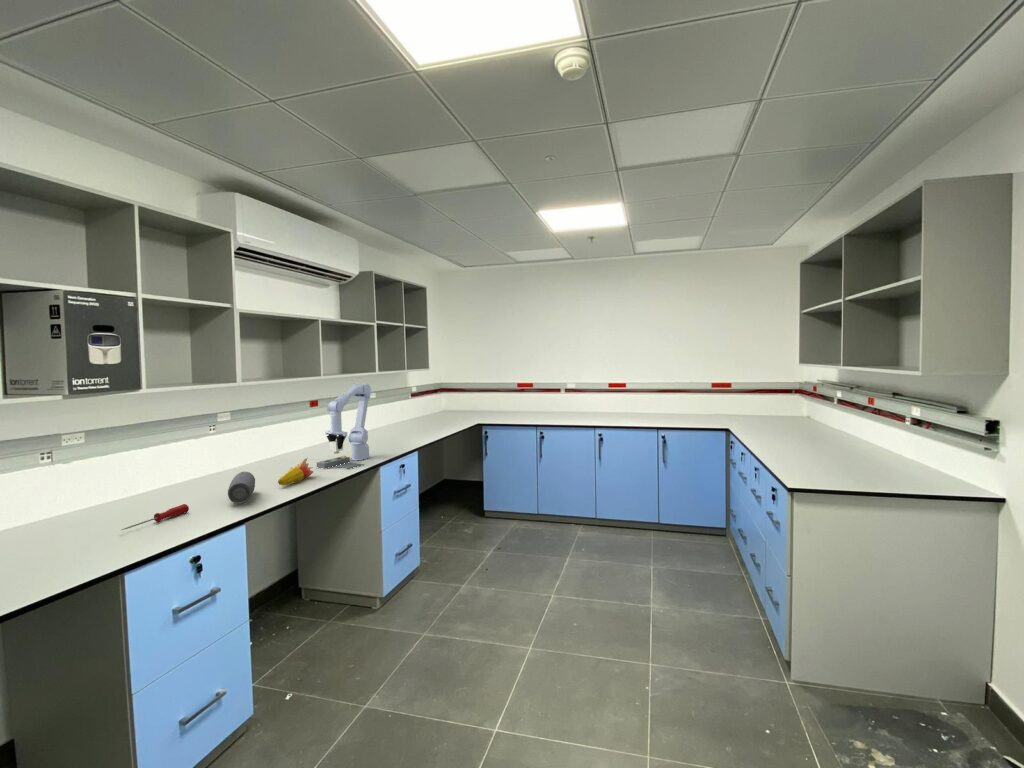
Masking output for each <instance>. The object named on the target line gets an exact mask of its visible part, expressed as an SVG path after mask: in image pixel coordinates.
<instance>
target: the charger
mask: <svg viewBox="0 0 1024 768" xmlns="http://www.w3.org/2000/svg"><path fill="white" fill-rule="evenodd" d="M329 451H330V452H333V454H335V455H337V454H340V452H341V451H342V452H343V451H344V445H343V446H342V449H338V444H337V440H336V441H332V442H329Z"/></svg>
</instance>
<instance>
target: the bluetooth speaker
mask: <svg viewBox="0 0 1024 768" xmlns="http://www.w3.org/2000/svg"><path fill="white" fill-rule="evenodd" d="M255 487H256V478H255V475H254V474H252V473H251V472H249V471H241V472H238V473H237V474H236V475H235V476H234V477H233V478H232V479H231V481H230V484H229V486H228V489H227V496H228V500H230V502H233V504H242V503H245V502H247V501H248V500H249V499H250V498H251V496H252V494H253V493H254V491H255Z"/></svg>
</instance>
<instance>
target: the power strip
mask: <svg viewBox="0 0 1024 768" xmlns="http://www.w3.org/2000/svg"><path fill="white" fill-rule="evenodd" d="M350 458H351V457H350V456H346V455H342V456H337V457H334V458H329V459H326V460H322V461H317V462H316V468H317V467H318V468H317V469H321V468H327V469H329V468H328V467H331V468H333V467H332V466H336V465H340V464H344V463H348V462H350V463H351V460H350Z"/></svg>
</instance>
